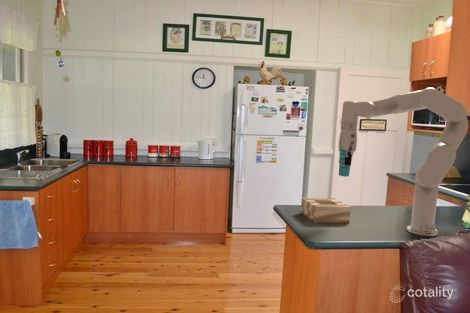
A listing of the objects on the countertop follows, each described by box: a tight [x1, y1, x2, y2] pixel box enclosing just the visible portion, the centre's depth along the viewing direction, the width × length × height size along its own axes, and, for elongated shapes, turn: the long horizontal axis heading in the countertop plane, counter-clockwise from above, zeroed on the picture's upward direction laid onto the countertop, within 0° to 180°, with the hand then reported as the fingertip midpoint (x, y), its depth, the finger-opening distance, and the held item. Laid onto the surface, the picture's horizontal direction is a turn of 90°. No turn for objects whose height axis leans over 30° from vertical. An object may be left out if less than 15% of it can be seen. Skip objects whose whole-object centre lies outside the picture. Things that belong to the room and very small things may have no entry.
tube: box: [338, 135, 351, 178], centre depth 185 cm, size 7×5×19 cm, turn 60°
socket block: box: [300, 197, 352, 224], centre depth 190 cm, size 18×18×8 cm
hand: (344, 163), depth 185 cm, fingers closed on tube, 5 cm apart
